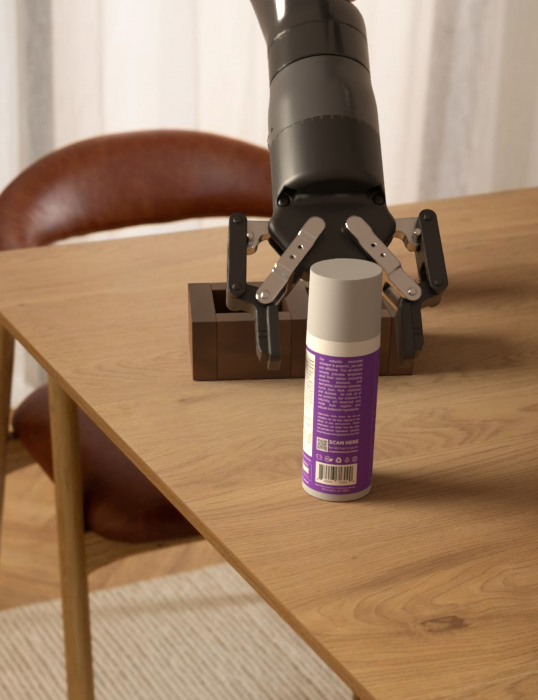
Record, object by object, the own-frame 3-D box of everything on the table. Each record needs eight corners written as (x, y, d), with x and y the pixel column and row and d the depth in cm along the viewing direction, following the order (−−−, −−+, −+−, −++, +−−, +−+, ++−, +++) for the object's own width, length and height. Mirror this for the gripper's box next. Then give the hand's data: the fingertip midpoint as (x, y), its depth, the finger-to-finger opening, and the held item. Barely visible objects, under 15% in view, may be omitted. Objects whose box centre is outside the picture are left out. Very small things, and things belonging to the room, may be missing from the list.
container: (385, 485, 79) (400, 268, 73) (340, 509, 77) (351, 285, 70) (332, 463, 82) (341, 253, 76) (287, 485, 80) (292, 269, 73)
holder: (390, 332, 106) (393, 277, 103) (412, 374, 97) (417, 316, 94) (188, 337, 105) (187, 283, 102) (192, 380, 96) (191, 322, 94)
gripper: (221, 112, 76) (232, 342, 72) (440, 109, 77) (465, 337, 72) (217, 176, 84) (227, 389, 79) (417, 172, 84) (439, 384, 79)
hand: (341, 364), depth 75 cm, fingers open, 8 cm apart
